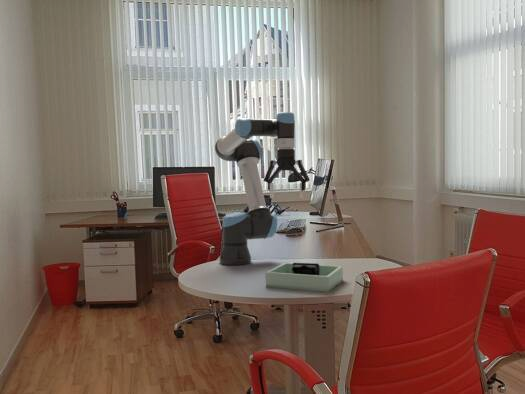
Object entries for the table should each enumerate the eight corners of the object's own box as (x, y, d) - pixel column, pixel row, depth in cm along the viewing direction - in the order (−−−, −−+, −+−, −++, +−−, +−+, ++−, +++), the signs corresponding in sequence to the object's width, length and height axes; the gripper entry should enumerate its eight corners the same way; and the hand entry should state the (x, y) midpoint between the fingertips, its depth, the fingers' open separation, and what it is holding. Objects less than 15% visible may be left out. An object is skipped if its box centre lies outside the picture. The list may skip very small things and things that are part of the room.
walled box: (265, 286, 190) (265, 272, 190) (284, 275, 209) (284, 262, 209) (328, 292, 181) (328, 276, 181) (342, 280, 200) (342, 266, 199)
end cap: (319, 279, 197) (319, 262, 197) (316, 283, 190) (316, 265, 190) (294, 278, 200) (294, 261, 199) (290, 282, 193) (290, 264, 193)
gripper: (255, 149, 218) (256, 198, 220) (311, 147, 209) (311, 199, 210) (262, 149, 225) (263, 197, 227) (316, 148, 215) (316, 197, 217)
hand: (286, 198), depth 218 cm, fingers open, 13 cm apart
